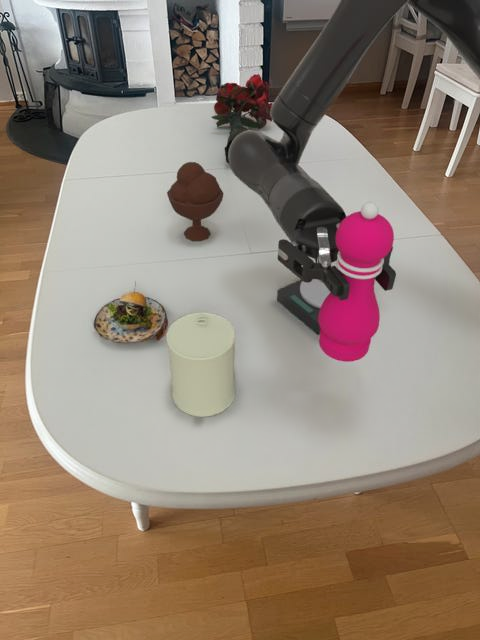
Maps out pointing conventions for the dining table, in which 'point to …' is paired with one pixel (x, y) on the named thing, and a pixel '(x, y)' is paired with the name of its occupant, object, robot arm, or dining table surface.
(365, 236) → the pepper mill
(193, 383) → the can
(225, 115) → the red flower bouquet
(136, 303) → the burger
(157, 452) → the dining table surface
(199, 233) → the ice cream bowl
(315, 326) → the kitchen scale
